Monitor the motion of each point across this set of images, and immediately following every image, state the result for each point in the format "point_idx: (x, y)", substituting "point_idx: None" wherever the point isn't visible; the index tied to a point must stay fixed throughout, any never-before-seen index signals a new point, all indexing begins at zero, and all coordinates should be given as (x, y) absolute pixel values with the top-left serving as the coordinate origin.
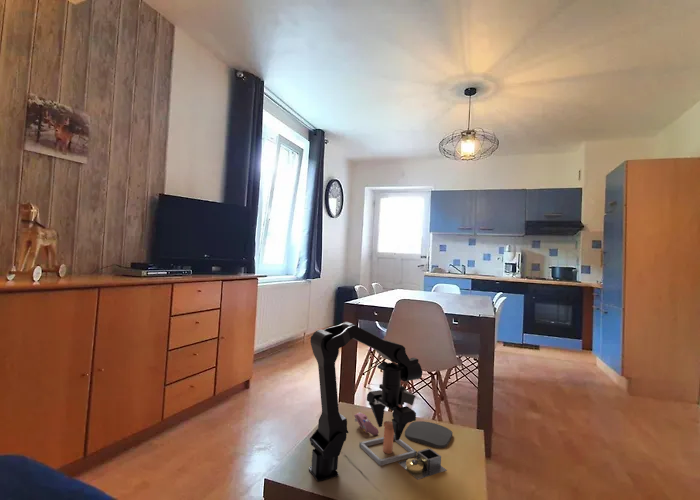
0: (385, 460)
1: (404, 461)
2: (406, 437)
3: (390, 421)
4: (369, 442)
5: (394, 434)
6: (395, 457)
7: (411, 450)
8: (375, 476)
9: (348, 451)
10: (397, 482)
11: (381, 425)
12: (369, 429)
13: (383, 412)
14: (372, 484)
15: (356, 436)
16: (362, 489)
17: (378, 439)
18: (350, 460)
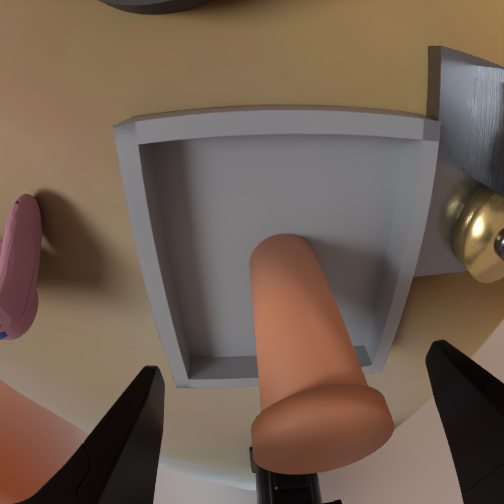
0: (389, 348)
1: (427, 237)
2: (151, 8)
3: (280, 436)
4: (179, 345)
5: (440, 410)
6: (406, 297)
7: (402, 137)
8: (392, 369)
9: (186, 392)
10: (464, 318)
11: (155, 377)
12: (34, 288)
13: (108, 486)
14: (412, 384)
15: (51, 313)
16: (406, 406)
17: (162, 291)
18: (255, 405)
